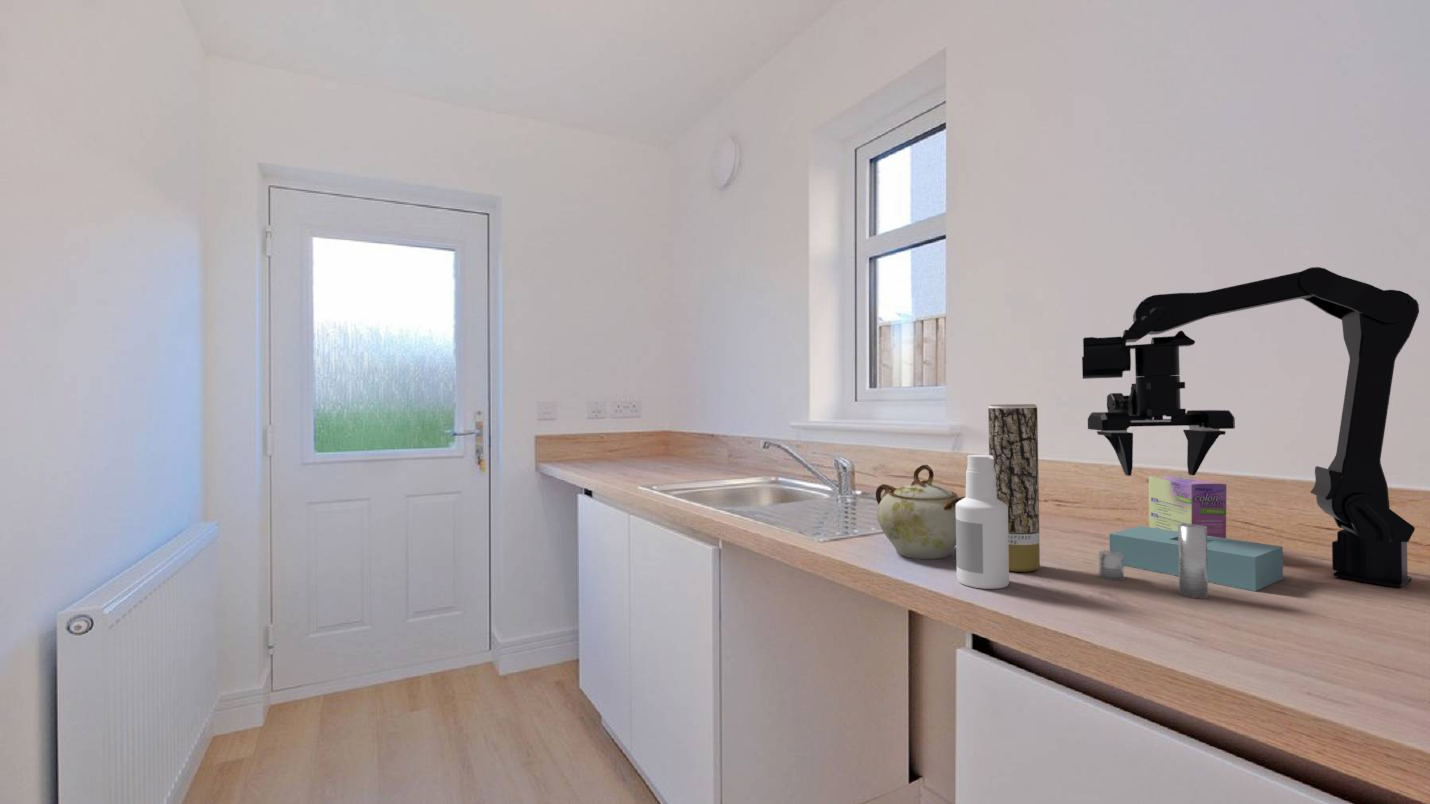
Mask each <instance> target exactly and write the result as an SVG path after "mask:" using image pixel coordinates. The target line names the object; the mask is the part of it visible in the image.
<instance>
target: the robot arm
mask: <svg viewBox="0 0 1430 804" xmlns="http://www.w3.org/2000/svg"><path fill="white" fill-rule="evenodd" d="M1300 299H1301V300H1304V301H1305V302H1307V303H1308V302H1309V304H1311V305H1313V306H1315V307H1317V308H1318V309H1319V310H1321V311H1322V312H1324V313H1326V314H1328V315H1330V316H1332V317H1334V318H1336V319H1339V320H1340V321H1341V324H1342V332H1343V333H1342V334H1343V341H1344V344H1345V347H1346V350H1347V353H1348V356H1349V364H1348V370H1347V376H1346V377H1347V378H1346V385H1345V392H1344V399H1343V405H1342V410H1341V411H1342V412H1341V417H1340V418H1341V419H1340V427H1339V433H1338V439H1337V446H1336V453H1335V456H1334V458H1333V459H1332V461H1331V463H1330V464H1329V466H1328V468H1326V467H1321V466H1319V465H1317V466H1315V467H1314V468H1315V469H1314V476H1315V483H1314V486H1313V488H1312V489H1311V490H1310V493H1311V494H1313V495H1315V496H1316V504H1317V506H1318V507H1319V508H1320V509H1321V510H1322V511H1323V512H1324V513H1325V514H1327V515H1328V516H1331V517H1332V518H1333V520H1334V521H1335V522H1334V523H1336V527H1338V528H1340V529H1341V530H1339V531H1337V532H1336V535H1337V537H1336V538H1337V539H1335V540H1334V541H1332V542H1331V552H1332V553H1331V554H1332V555H1331V556H1332V558H1331V559H1332V560H1331V561H1332V563H1331V564H1332V566H1331V567H1332V570H1333V577H1335V578H1340V579H1346V580H1353V581H1358V582H1362V583H1363V582H1364V583H1370V584H1376V585H1382V586H1388V587H1395V588H1402V587H1403V586H1405V585H1406V584H1408V583H1409V582H1411V581H1412V578H1413V577H1412V576H1411V575H1408V542H1409V541H1410V540H1411V537H1412V536H1413V534H1414V532H1415V529H1416V527H1414V526H1413V525H1412V524H1410V522H1408V521H1407V520H1405V519H1404V518H1403V517H1401V515H1399V514H1397V513H1396V512H1394V511H1393V510H1392V509H1391V508H1390V500H1389V499H1390V498H1389V487H1388V481H1387V479H1386V476H1385V473H1384V471H1383V467H1382V463H1381V461H1382V460H1381V457H1382V450H1383V445H1384V437H1385V431H1386V423H1387V416H1388V410H1389V405H1390V395H1391V391H1392V383H1393V377H1394V376H1393V375H1394V371H1395V363H1396V360H1397V357H1398V355H1399V354H1400V352H1401V350H1402V349H1403V347H1404V346H1405V345H1406V342H1407V341H1408V340H1409V338H1410V336H1411V334H1412V331H1413V328H1414V326H1415V324H1416V322H1417V319H1418V318H1419V313H1420V307H1419V306H1420V304H1419V303H1418V300H1417V299H1415V298H1414V297H1413V296H1411V295H1410V294H1409V293H1407V292H1404V291H1401V290H1398V289H1397V290H1396V289H1385V290H1384V289H1381V288H1380V287H1377V286H1374V285H1372V284H1370V283H1366V282H1363V281H1360V280H1357V279H1353V278H1349V277H1346V276H1343V275H1340V274H1338V273H1335V272H1334V271H1331V270H1329V269H1326V268H1325V267H1320V266H1312V267H1309V268H1306V269H1304V270H1302V271H1298V272H1293V273H1289V274H1284V275H1279V276H1275V277H1274V276H1273V277H1270V278H1264V279H1260V280H1256V281H1251V282H1247V283H1242V284H1238V285H1233V286H1228V287H1224V288H1218V289H1214V290H1208V291H1202V292H1200V291H1199V292H1177V293H1176V292H1175V293H1174V292H1173V293H1163V294H1162V293H1161V294H1154V295H1150V296H1148V297H1145V299H1142V300H1141V302H1140V303H1139V304H1138V305H1137V306H1136V308H1135V309H1134V312H1133V315H1132V321H1133V323H1132V324H1131V326H1130V327H1129V328H1128V329H1124V331H1123V332H1122V336H1109V337H1095V336H1090V337H1083V339H1082V344H1083V345H1082V346H1083V347H1082V349H1083V350H1082V351H1083V355H1082V357H1081V363H1082V364H1081V365H1082V367H1081V368H1082V369H1081V370H1082V374H1081V375H1082V379H1084V380H1087V379H1088V380H1089V379H1113V378H1115V379H1116V378H1123V376H1124V372H1131V368H1132V359H1131V358H1132V357H1131V350H1134V366H1135V367H1134V369H1135V371H1134V372H1135V383H1131V387H1130V394H1129V395H1124V394H1123V393H1122V392H1116V393H1115V392H1112V393H1108V395H1107V396H1106V409H1107V411H1101V412H1100V411H1099V412H1098V411H1097V412H1095V411H1094V412H1093V411H1091V413H1089V416H1088V418H1087V430H1091V431H1092V430H1094V431H1096V433H1097V435H1100V436H1104V438H1105V439H1107V440H1108V442H1109V443H1110V445H1111V447H1112V448H1113V450H1114V452H1115V454H1116V456H1117V459H1118V461H1119V463H1120V466H1121V468H1122V470H1123V472H1124V474H1125V476H1126V477H1129V476H1132V473H1133V462H1134V461H1133V457H1134V456H1133V455H1134V452H1133V451H1134V450H1133V449H1134V433H1133V432H1128V429H1129V428H1130V427H1171V426H1172V427H1174V426H1177V427H1178V426H1185V427H1186V426H1188V428H1189V429H1183V433H1184V436H1185V439H1186V440H1187V455H1186V456H1187V457H1186V458H1187V459H1186V463H1187V464H1186V465H1187V474H1188V475H1189V476H1196V475H1197V473H1198V471H1199V469H1200V468H1201V465H1202V463H1203V461H1204V460H1205V457H1206V456H1207V455H1208V453H1209V451H1210V449H1211V448H1212V447H1213V445H1214V444H1215V442H1216V441H1217V440H1218V438H1219V436H1221V435H1223V436H1225V435H1226V433H1227V432H1226V431H1225V429H1226V430H1227V429H1236V422H1235V416H1234V415H1233V413H1232V412H1231V411H1230V410H1225V409H1224V410H1222V409H1199V410H1198V409H1197V410H1196V409H1195V410H1194V409H1193V410H1186V408H1181V406H1182V405H1181V389H1186V381H1181V375H1180V369H1181V368H1180V347H1191V346H1193V345H1195V343H1196V340H1194V339H1192V338H1191V337H1189V336H1188V335H1187V334H1186V333H1185V332H1184V331H1183V330H1179V331H1178V332H1176V333H1175V335H1171V336H1170V335H1169V336H1155V337H1151V341H1150V343H1145V344H1142V343H1141V344H1127V343H1136V342H1138V341H1140V340H1141V339H1142V338H1144V337H1146V336H1147V335H1151V336H1152V335H1160V334H1165V333H1166V332H1170V331H1172V330H1174V329H1177V328H1181V327H1183V326H1186V325H1189V324H1191V323H1192V324H1193V323H1195V322H1196V321H1200V320H1203V319H1206V318H1209V317H1215V316H1219V315H1224V314H1230V313H1234V312H1240V311H1245V310H1250V309H1255V308H1259V307H1260V308H1261V307H1265V306H1270V305H1274V304H1279V303H1285V302H1290V301H1294V300H1300ZM1164 417H1168V418H1164ZM1220 429H1221V430H1220Z"/></svg>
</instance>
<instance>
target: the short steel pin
mask: <svg viewBox="0 0 1430 804" xmlns="http://www.w3.org/2000/svg"><path fill="white" fill-rule="evenodd" d="M1124 566H1125V565H1124V555H1123V553H1120V552H1115V551H1110V550H1099V551H1098V575H1099V577H1100V578H1101V579H1104V580H1108V581H1123V580H1124V579H1125V574H1124V573H1125V570H1124V569H1125V567H1124Z"/></svg>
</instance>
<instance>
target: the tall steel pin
mask: <svg viewBox="0 0 1430 804" xmlns="http://www.w3.org/2000/svg"><path fill="white" fill-rule="evenodd" d="M1178 554H1179V576H1178V593H1179V595H1181V596H1185V597H1186V598H1187V597H1188V598H1193V599H1207V598H1209V582H1208V563H1207V527H1206V526H1203V525H1197V524H1178Z"/></svg>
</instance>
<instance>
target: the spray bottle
mask: <svg viewBox="0 0 1430 804" xmlns="http://www.w3.org/2000/svg"><path fill="white" fill-rule="evenodd" d="M966 458H967V467H966V471H965V496H964V497H965V498H963V499H962V500H960V501H958V502H957V503H956V546H955V547H956V549H955V551H956V552H955V553H956V554H955V555H956V556H955V557H956V578H957V581H958V582H959V583H960V584H962V585H965V586H967V587H970V588H974V589H975V588H976V589H983V590H996V589H997V590H999V589H1003V588H1006V587H1008V586H1009V583H1010V571H1009V542H1008V506H1007V505H1006V504H1005V503H1003V502H1002V501H1000V500H999V499H997V487H996V472H995V468H994V458H993V456H992V455H989V454H969V455H967V457H966Z"/></svg>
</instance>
